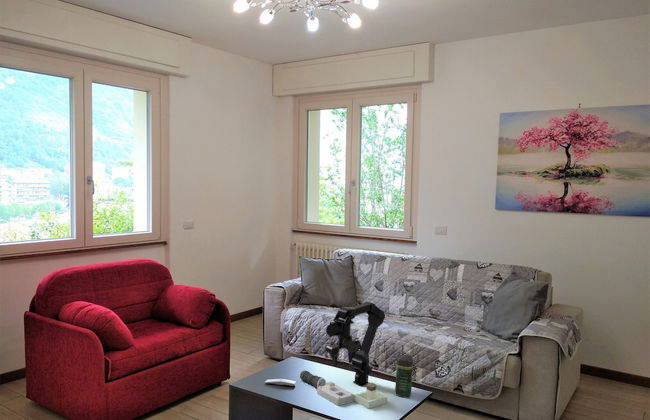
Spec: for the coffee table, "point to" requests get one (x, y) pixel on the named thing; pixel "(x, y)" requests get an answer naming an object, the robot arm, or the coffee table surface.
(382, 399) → the parts tray
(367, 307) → the robot arm
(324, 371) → the coffee table surface
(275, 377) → the coffee table surface
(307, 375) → the flashlight
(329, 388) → the block
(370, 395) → the block
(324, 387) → the fuse block
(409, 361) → the coffee jar
